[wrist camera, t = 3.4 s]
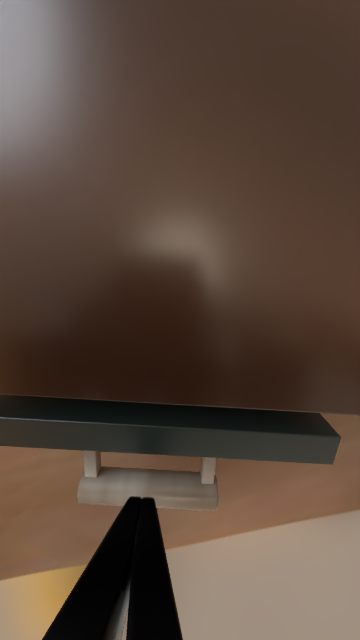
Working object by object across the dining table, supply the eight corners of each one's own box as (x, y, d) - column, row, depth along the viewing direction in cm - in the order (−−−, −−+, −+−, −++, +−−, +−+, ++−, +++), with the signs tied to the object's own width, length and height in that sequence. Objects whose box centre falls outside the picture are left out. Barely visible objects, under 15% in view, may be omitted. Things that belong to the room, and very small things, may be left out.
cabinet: (282, 334, 14) (398, 418, 6) (43, 319, 14) (-121, 388, 6) (351, -39, 9) (943, -1082, 2) (5, -64, 9) (-642, -1251, 2)
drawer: (258, 447, 15) (305, 562, 9) (55, 435, 15) (-24, 544, 9) (330, 55, 10) (540, -237, 4) (15, 33, 9) (-227, -298, 4)
